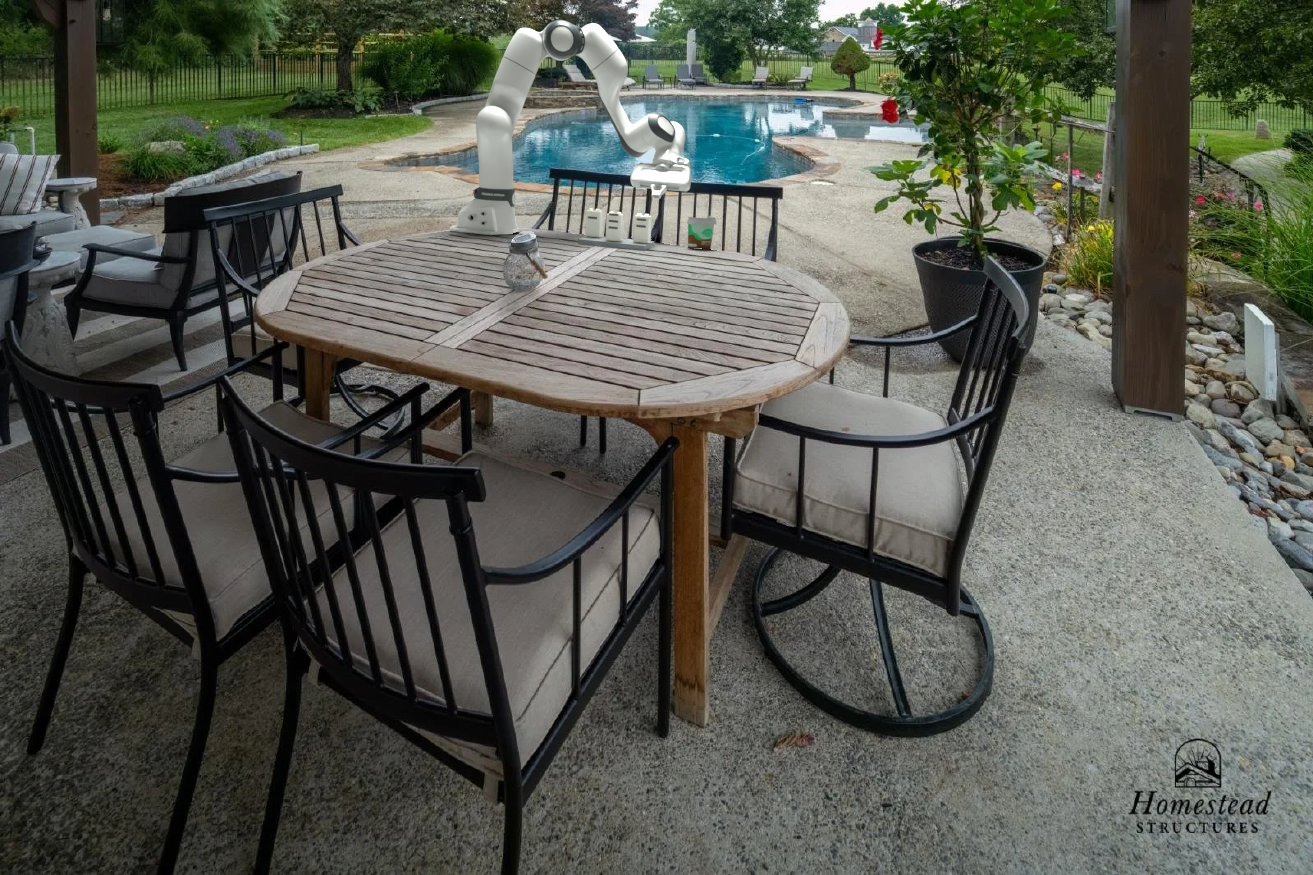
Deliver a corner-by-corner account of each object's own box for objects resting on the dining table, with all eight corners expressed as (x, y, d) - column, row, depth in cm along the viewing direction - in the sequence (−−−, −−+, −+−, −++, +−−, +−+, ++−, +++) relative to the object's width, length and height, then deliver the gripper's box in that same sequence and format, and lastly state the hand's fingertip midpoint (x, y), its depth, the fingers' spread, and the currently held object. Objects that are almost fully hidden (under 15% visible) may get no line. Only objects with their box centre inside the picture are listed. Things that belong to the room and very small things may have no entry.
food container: (700, 251, 241) (703, 219, 237) (685, 248, 244) (687, 216, 241) (721, 248, 250) (724, 217, 246) (706, 246, 254) (708, 215, 250)
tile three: (605, 240, 238) (606, 211, 235) (608, 238, 241) (609, 210, 238) (619, 241, 237) (620, 213, 234) (623, 240, 240) (624, 212, 237)
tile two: (632, 241, 238) (634, 213, 235) (635, 240, 241) (637, 212, 238) (647, 243, 237) (648, 214, 234) (650, 242, 240) (651, 213, 237)
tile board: (577, 243, 239) (578, 239, 239) (590, 239, 250) (590, 235, 250) (644, 250, 235) (644, 245, 234) (654, 246, 245) (654, 241, 245)
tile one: (584, 236, 244) (585, 208, 241) (588, 235, 247) (589, 207, 244) (598, 237, 243) (599, 209, 240) (602, 236, 246) (603, 208, 243)
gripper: (634, 155, 252) (624, 187, 247) (693, 160, 248) (684, 192, 243) (637, 169, 258) (627, 201, 253) (695, 173, 254) (686, 206, 248)
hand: (656, 197), depth 248 cm, fingers closed
